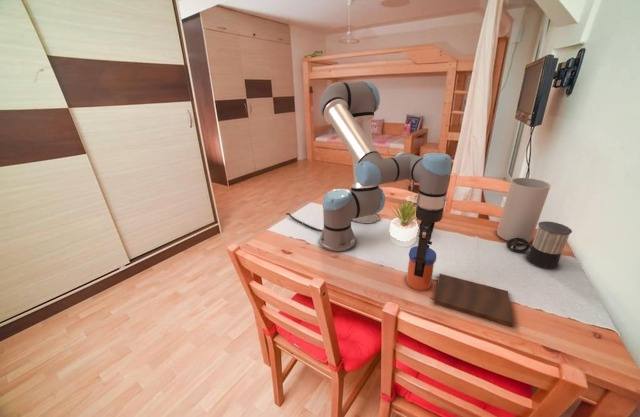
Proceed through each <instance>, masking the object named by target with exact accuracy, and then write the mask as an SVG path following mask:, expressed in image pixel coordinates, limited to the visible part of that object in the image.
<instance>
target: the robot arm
mask: <svg viewBox="0 0 640 417" xmlns="http://www.w3.org/2000/svg"><path fill="white" fill-rule="evenodd" d="M379 92H380V91H379V89H378V88H377V86H376V85H375V84H374V83H373V82H371V81H364V80H363V81H362V80H361V81H360V80H359V81H343V82H342V81H338V82H337V81H336V82H334V83H333V82H332V83H331V84H329V85H328V86H327V87H326V88H325V89H324V91H323V92H322V94H321V96H320V101H319V110H320V113H321V115H322V117H323V119H324V120H325V121H326V122H327V123H329V124H331V126H332V128H333V129H334V131H335V132H336V134H337V135H338V137H339V138H340V139H341V141H342V144H343V145H344V146H345V148H346V149H347V151H348V152H349V154H350V156H351V161H352V174H353V182H352V184H351V185H350V189H347V188H335V189H332V190H330V191H328V192H326V193H325V194H324V196H323V200H322V201H323V202H322V212H323V214H322V215H323V228H322V229H319V228H317V227H313V226H311V225H309V224H307V223H305V222H303V221H301V220H299V219H297V218H296V217H294V216H292V214H291V213H289V212H286V213H285V215H286V216H289V217H290V218H291V219H292V220H294V221H295V222H297V223H299V224H301V225H303V226H305V227H307V228H310V229H312V230H315V231H317V232H321V234H320V238H319V243H320V246H321V247H322V248H323V249H325V250H327V251H330V252H345V251H348V250H350V249H352V248H353V247H354V246H355V244H356V238H355V237H356V236H355V234H354V231H353V229H352V221H353V220H352V219H355V218H360V217H364V216H369V215H374V214H376V215H377V214H379V213H381V211H382V210H384V208H385V204H386V194H385V192H384V190H383V189H382V188H381V187H380V186H379V185H384V184H391V183H395V182H401V181H406V180H409V181H411V182H412V181H413V182H415V183H418V184H419V185H418V190H417V191H418V192H417V196H418V198H417V204H418V205H417V207H416V217H417V218H416V219H418V220H419V221H420V223H419V226H418V228H419V233H418V243H417V246H418V248H417V255H416V257H414V259H415V261H416V263H415V270H414V275H415V276H419V277H422V278H423V273H424V267H425V261H426V259H425V257H426V251H427V247H428V248H430V246H432V245H433V241H431V239H432V233H433V232H434V228H435V224H436V223H439V222H440V221H442V219H443V214H444V207H445V202H447V201H448V200H449V199H448V197H446V196H447V189H448V185H449V180H450V176H451V172H452V161H453V160H452V156H450V155H449V154H447V153H444V152H443V153H442V152H428V153H425V154H424V155H423V156H419V155H416V154H414V153H410V152H403V151H402V152H398V153H397V154H396V155H394V156H393V157H392V156H391V157H385V158H384V157H383V156H382V154H380V152H379V151H378V150H377V148H376V147H375V146H374V144H373V137H372V136H373V134H372V120H373V119H374V118H375V113H376V112H377V111H378V109H379V107H380V106H379V105H380V102H381V96H380V93H379Z"/></svg>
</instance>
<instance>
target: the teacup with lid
mask: <svg viewBox="0 0 640 417" xmlns="http://www.w3.org/2000/svg"><path fill="white" fill-rule="evenodd" d="M417 198H418V193H417V194H416V193H413V194H412V195H408V196H405V198H404V202H405V201H411V202H413V203H414V204H415V206H416V207H417V205H418V204H417ZM416 219H418V218H417V217H416Z"/></svg>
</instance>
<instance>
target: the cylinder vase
mask: <svg viewBox="0 0 640 417" xmlns="http://www.w3.org/2000/svg"><path fill="white" fill-rule="evenodd" d="M509 184H510V185H509V187H508V191H507V194H506V198H505V202H504V205H503V209H502V211H501V215H500V219H499V222H498V226H497V229H496V234H497V236H498V237H499V238H500V239H502V240H503V241H506V242H507V241H508V240H510V239H513V238H522V239H525V240H526V241H527V242H528V243H529V244H530V242H532V241H533V237H534V234H535V231H536V229H537V226H538V224H539V220H540V217H541V214H542V212H543V209H544V206H545V203H546V200H547V197H548V195H549V192H550V189H551V184H550V183H549V182H546V181H544V180H540V179H535V178H529V177H514V178H512V179H511V180H510V183H509ZM517 244H518V245H525V244H524V243H522V242H519V241H517V243H516V245H517Z"/></svg>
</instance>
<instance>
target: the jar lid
mask: <svg viewBox="0 0 640 417" xmlns="http://www.w3.org/2000/svg"><path fill="white" fill-rule="evenodd" d="M417 248H418V245H415V246H412V247H411V248H410V249H409V251H408V259H409V258H410V259H411V260H412V261H413V262H415V263H416V261H415V259H414V257H416V255H417ZM437 257H438V256H437V251H435V250H434V249H432V248H431V247H429V248H428V247H427V251H426V257H425V259H426V261H425V265H432V264H434V265H435V263H436V261H437Z"/></svg>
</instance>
